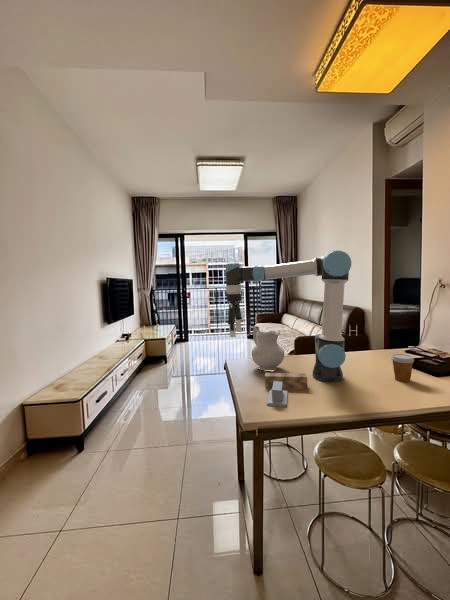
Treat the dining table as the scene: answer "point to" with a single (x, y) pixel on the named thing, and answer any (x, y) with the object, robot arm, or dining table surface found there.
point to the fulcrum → (277, 395)
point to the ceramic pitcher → (267, 349)
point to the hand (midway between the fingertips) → (235, 334)
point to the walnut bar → (287, 380)
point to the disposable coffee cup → (402, 367)
